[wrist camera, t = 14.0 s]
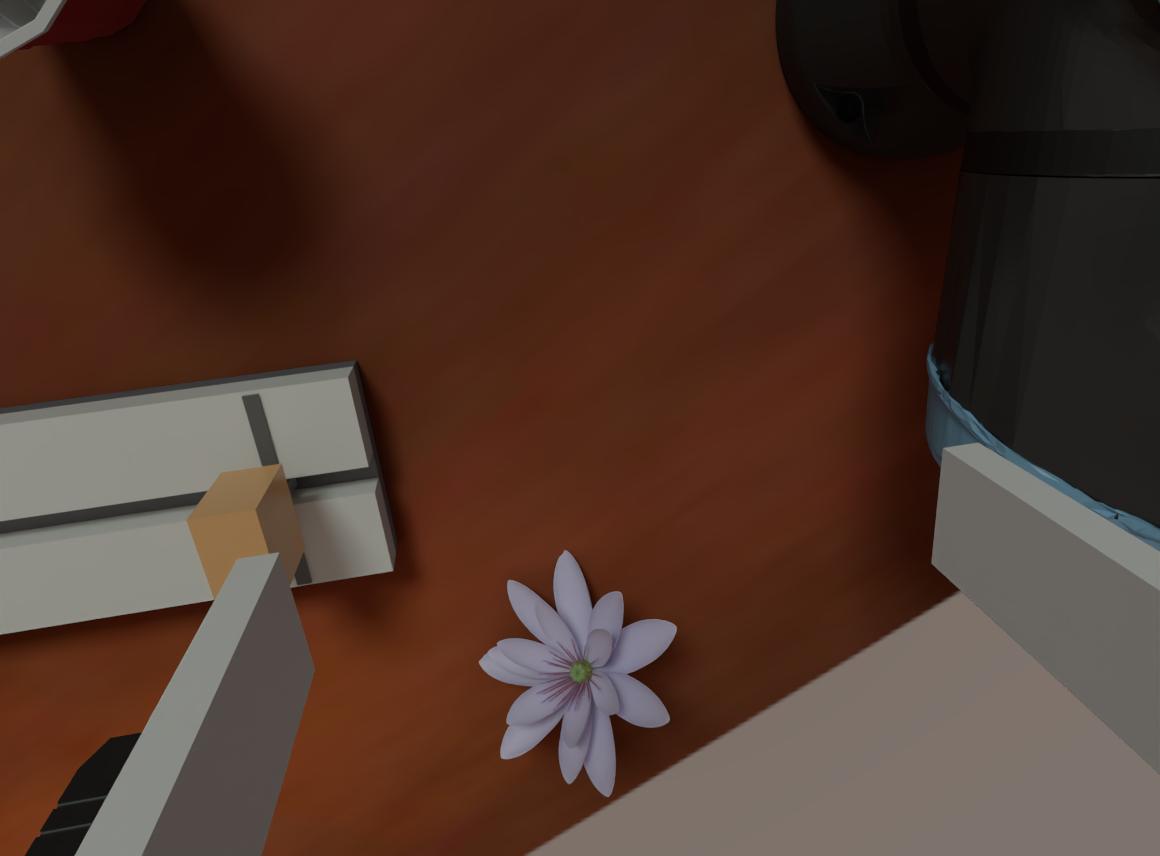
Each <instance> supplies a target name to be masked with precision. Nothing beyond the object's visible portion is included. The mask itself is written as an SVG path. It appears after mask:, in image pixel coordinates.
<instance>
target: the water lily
mask: <svg viewBox="0 0 1160 856" xmlns="http://www.w3.org/2000/svg"><path fill="white" fill-rule="evenodd" d="M507 590H508V595H509V599H510V602H511V604H512V607H513V609H514V611H515V612H516V614H517V616H518V617H519V619H520V620H521V621H522V623H523V624H524V625H525V626H526V627H527V628H528V629H529V631H530V632H531V633H532V634H533V635H534V636H536V637H537V638H538V639H539V640H540V641H542V642H543V643H544V644H542V643H538V642H535V641H531V640H527V639H520V638H510V639H504V640H501V641H499V642H498V643H497V646H496V647H494V648H492V649H490V650H489V651H488V653H487V654H485V655H484V656H483V658H482V659H481V660H480V661H479V664H480V666H481V667H482V669H483V670H484V671H485V672H486V673H488V674H489V675H490V676H492V677H493V678H495V679H497V680H500V681H502V682H505V683H509V684H515V685H522V686H533V687H532V688H530V689H529V690H527V691H526V692H524V693H523V694H522V695H521V696H520V697H519V698H518V699H517V700H516V701H515V702H514V704H513V705H512V707H511V709H510V711H509V713H508V716H507V724H509V725H510V726H509V727H508V729H507V731H506V733H505V735H504V738H503V741H502V745H501V752H500V754H501V758H502V759H512V758H515V757H518V756H520V755H522V754H524V753H526V752H527V751H529V750H530V749H532V748H533V747H534V746H536V745H537V744H538V743H539V742H540V741H541V740H542V739H543V738H544V737H545V736H546V735H547V734H548V733H549V732H550V731H551V730H552V729H553V728H554V727H555V726H556V724H557V723H558V722H559V721H560V719H561V718H562V716H563V715H564V717H563V722H562V729H561V735H560V741H559V762H560V768H561V771H562V774H563V777H564V779H565V781H566V782H567V783H568V784H571V783H572V782H573V781H574V780H575V778H576V777H577V775H578V773H579V772H580V770H581V768H582V765H583V763H584V766H585V769H586V771H587V773H588V775H589V778H590V779H591V781H592V783H593V784H594V786H595V787H596V788H597V789H598V790H599V792H601V793H602V794H603V795H604V796H606V797H609V796H610V795H611V793H612V789H613V786H614V781H615V772H616V755H615V743H614V736H613V731H612V726H611V722H610V718H609V715H613V714H617V715H618V716H619V717H621V718H623V719H624V720H626V721H628V722H630V723H632V724H634V725H637V726H641V727H647V728H654V727H660V726H663V725H665V724H667V723H668V722H669V721H670V717H669V714H668V712H667V710H666V708H665V706H664V705H663V703H662V702H661V701H660V699H659V698H658V697H657V696H656V695H655V694H654V693H653V692H652V691H651V690H650V689H649V688H648V687H647V686H645V685H644V684H642V683H641V682H639V681H638V680H636V679H634V678H633V677H631V676H629V675H627V674H628V673H632V672H634V671H636V670H638V669H640V668H642V667H644V666H646V665H648V664H650V663H651V662H653V661H654V660H655V659H657V658H658V657H659V656H660V655H661V654H662V653H663V652H664V651H665V650H666V649H667V648H668V646H669V645H670V643H671V642H672V640H673V639H674V636H675V634H676V631H677V627H676V626H675V625H674V624H673V623H670V622H668V621H664V620H659V619H649V620H642V621H638V622H635V623H633V624H630V625H628V626H626V627H624V628H622V624H623V612H624V604H623V596H622V594H621V592H618V591H616V592H611V593H608V594H606V595H605V596H603V597H602V598H601V599H600V600H599V601H598V602H597V603H596V605H595V606H594V608H593V609H592V603H591V599H590V595H589V591H588V588H587V584H586V581H585V579H584V576H583V574H582V571H581V569H580V567H579V565H578V563H577V562H576V560H575V559H574V557H573V556H572V555H571V554H570V553H569V552H568V551H566V550H565V551H564V552H563V554H562V555H561V556H560V557H559V559H558V561H557V564H556V567H555V572H554V597H555V603H556V608H557V612H558V613H557V612H556V611H555V610H554V609H553V608H552V607H550V606H549V605H548V604H547V603H546V602H545V601H544V600H543V599H542V598H541V597H539V596H538V595H537V594H536V593H534V592H533V591H532V590H530V589H529V588H528V587H526V586H524V585H522V584H521V583H519V582H516V581H513V580H508V583H507ZM545 644H546V645H545ZM564 713H565V714H564Z"/></svg>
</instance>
